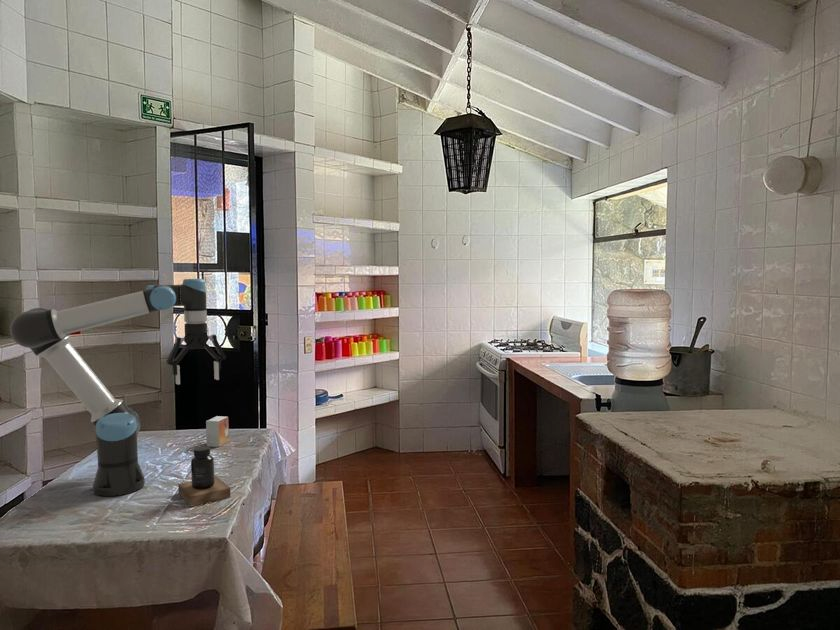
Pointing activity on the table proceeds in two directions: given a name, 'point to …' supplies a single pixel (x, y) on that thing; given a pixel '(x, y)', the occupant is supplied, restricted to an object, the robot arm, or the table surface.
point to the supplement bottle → (202, 468)
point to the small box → (217, 431)
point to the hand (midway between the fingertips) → (197, 381)
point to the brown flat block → (204, 492)
